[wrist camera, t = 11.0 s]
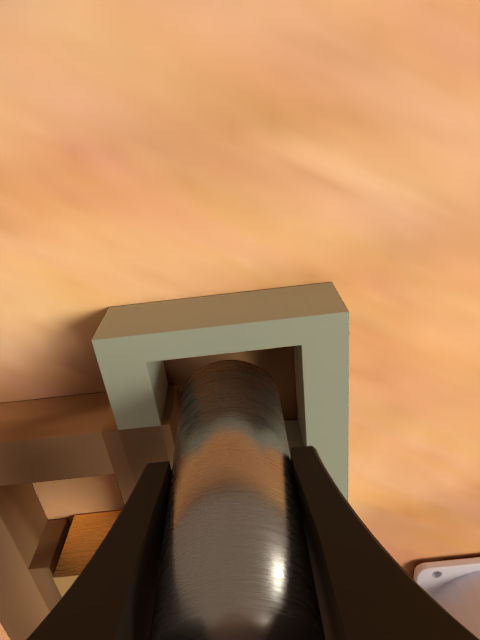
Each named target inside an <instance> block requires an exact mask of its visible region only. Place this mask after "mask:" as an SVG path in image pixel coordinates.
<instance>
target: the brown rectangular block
mask: <svg viewBox="0 0 480 640" xmlns="http://www.w3.org/2000/svg"><path fill="white" fill-rule="evenodd" d="M120 512H121V510H120V511H110V512H101V513H91V514H82V515H74V518H73V521H72V524H71V527H70V530H69V533H68V535H67V538H66V541H65V544H64V547H63V550H62V553H61V555H60V558H59V561H58V564H57V567H56V570H55V573H54V575H53V580H54V582H55V584H56V586H57V588H58V590H59V592H60V594H61V596H62V597H63V596H64V594H65V593H66V592H67V590H68V589H69V588H70V587H71V585H72V584H73V583H74V581H75V580H76V579H77V577H78V576H79V575H80V573H81V572H82V571H83V569H84V568H85V566H86V565H87V564H88V562H89V561H90V559H91V558H92V556H93V555H94V553H95V552H96V550H97V549H98V547H99V546H100V544H101V543H102V541H103V540H104V538H105V537H106V535H107V534H108V532H109V530H110V529H111V527H112V525H113V524H114V522H115V520H116V519H117V517H118V515H119V514H120Z"/></svg>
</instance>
